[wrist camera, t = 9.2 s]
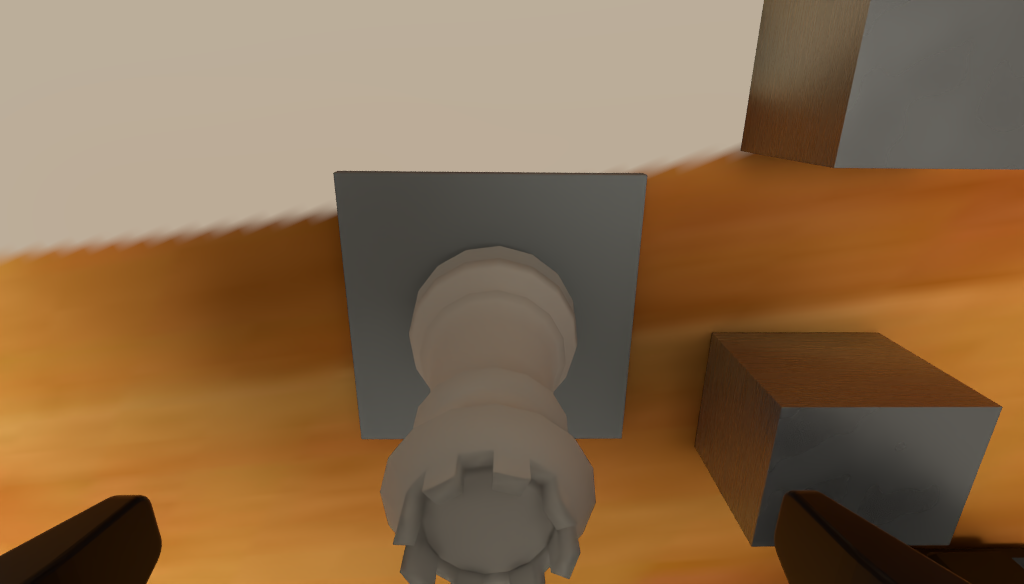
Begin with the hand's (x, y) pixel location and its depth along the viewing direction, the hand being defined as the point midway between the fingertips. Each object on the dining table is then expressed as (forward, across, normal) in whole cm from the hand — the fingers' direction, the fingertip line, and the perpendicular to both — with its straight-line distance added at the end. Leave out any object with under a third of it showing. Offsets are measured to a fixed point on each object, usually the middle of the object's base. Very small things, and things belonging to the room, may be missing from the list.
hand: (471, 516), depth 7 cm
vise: (+8, -9, -2) cm, 12 cm away
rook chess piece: (+8, 0, 0) cm, 8 cm away
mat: (+8, 0, 0) cm, 8 cm away
